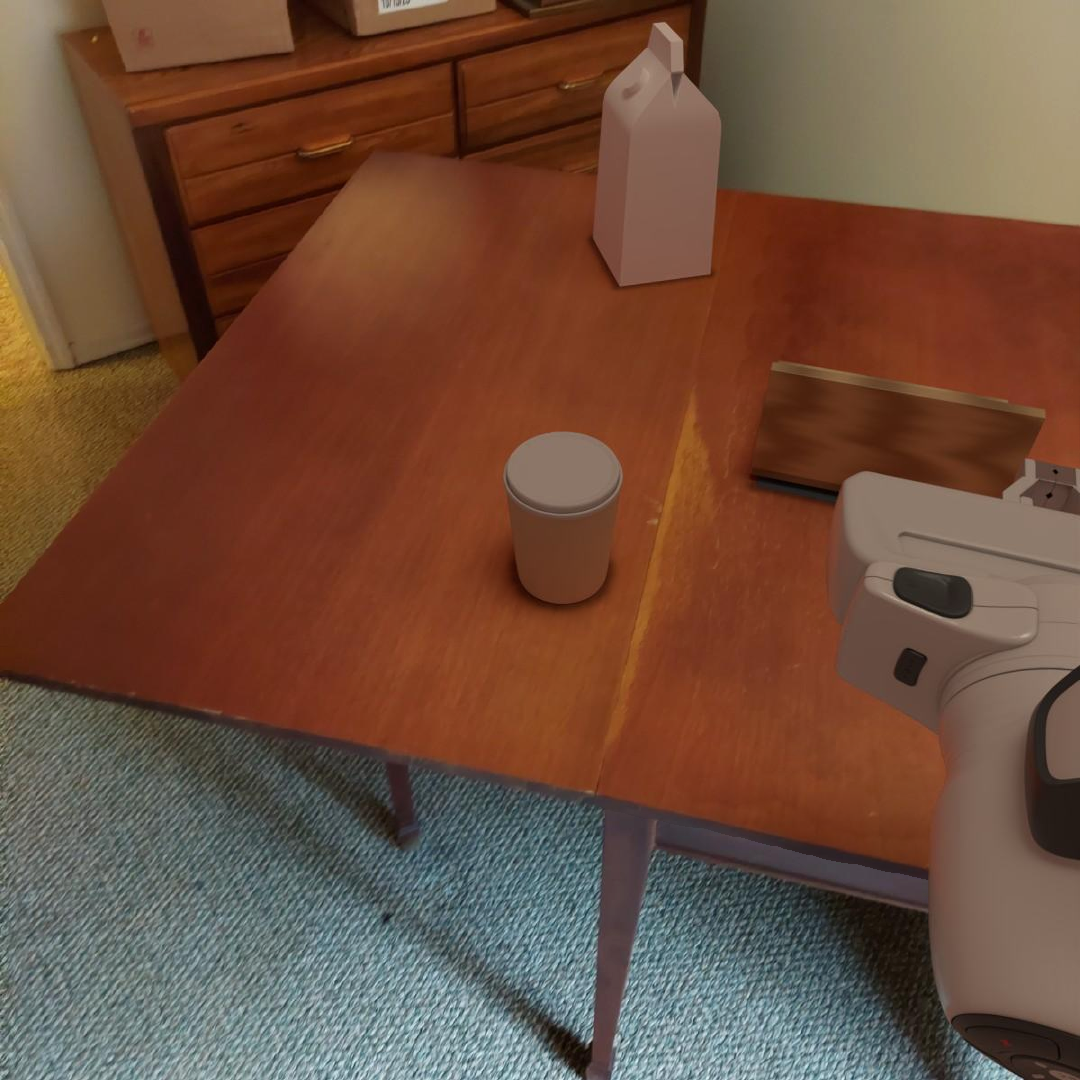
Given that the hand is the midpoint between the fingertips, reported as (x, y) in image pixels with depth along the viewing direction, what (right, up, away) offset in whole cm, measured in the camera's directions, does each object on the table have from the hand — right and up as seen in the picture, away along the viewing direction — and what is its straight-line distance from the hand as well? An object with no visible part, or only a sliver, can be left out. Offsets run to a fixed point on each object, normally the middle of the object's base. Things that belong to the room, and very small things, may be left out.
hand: (1048, 473), depth 49 cm
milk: (-12, +32, +70) cm, 78 cm away
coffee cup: (-24, -6, +34) cm, 42 cm away
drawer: (+6, +5, +44) cm, 44 cm away
